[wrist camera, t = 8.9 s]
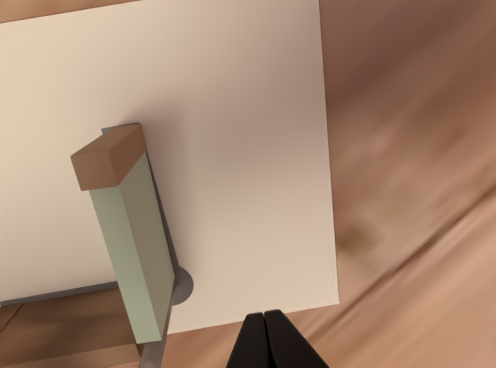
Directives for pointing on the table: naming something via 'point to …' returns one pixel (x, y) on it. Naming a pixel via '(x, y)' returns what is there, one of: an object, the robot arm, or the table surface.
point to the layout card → (173, 151)
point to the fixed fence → (75, 333)
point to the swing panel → (129, 224)
